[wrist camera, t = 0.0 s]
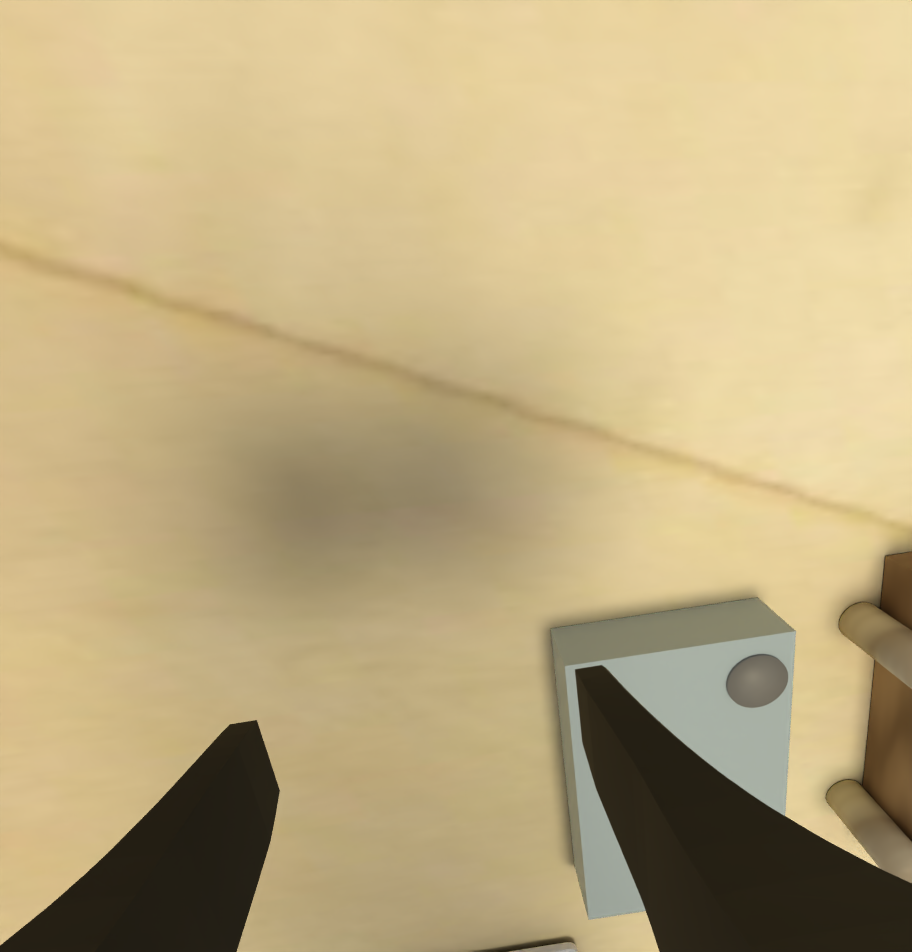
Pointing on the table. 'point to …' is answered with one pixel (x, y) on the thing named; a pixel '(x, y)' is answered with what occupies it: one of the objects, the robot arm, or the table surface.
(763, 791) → the door
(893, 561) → the hinge rail
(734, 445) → the table surface
